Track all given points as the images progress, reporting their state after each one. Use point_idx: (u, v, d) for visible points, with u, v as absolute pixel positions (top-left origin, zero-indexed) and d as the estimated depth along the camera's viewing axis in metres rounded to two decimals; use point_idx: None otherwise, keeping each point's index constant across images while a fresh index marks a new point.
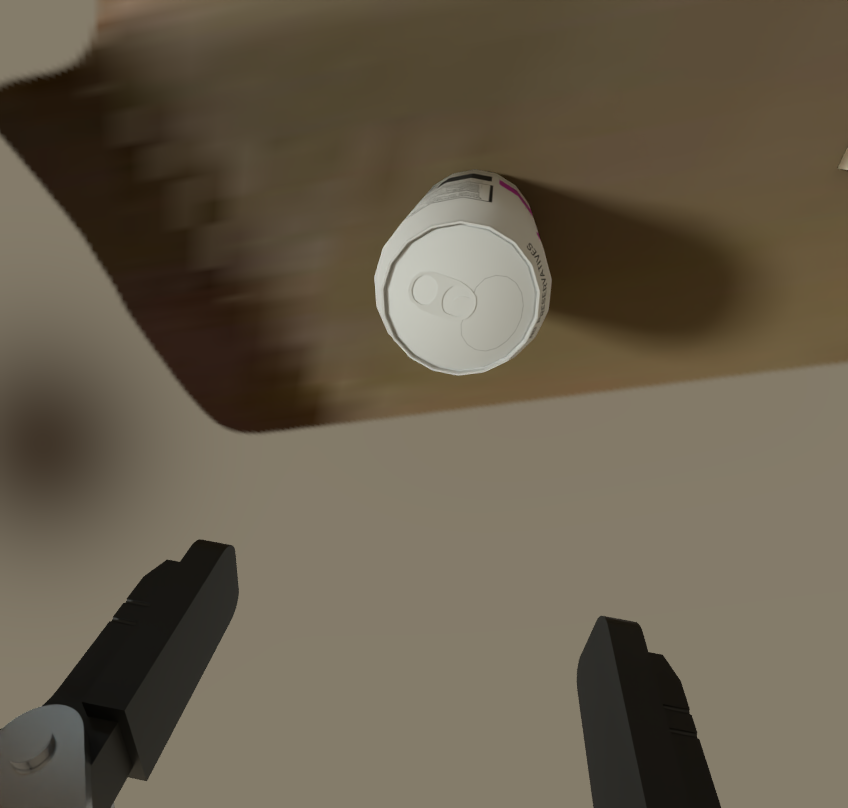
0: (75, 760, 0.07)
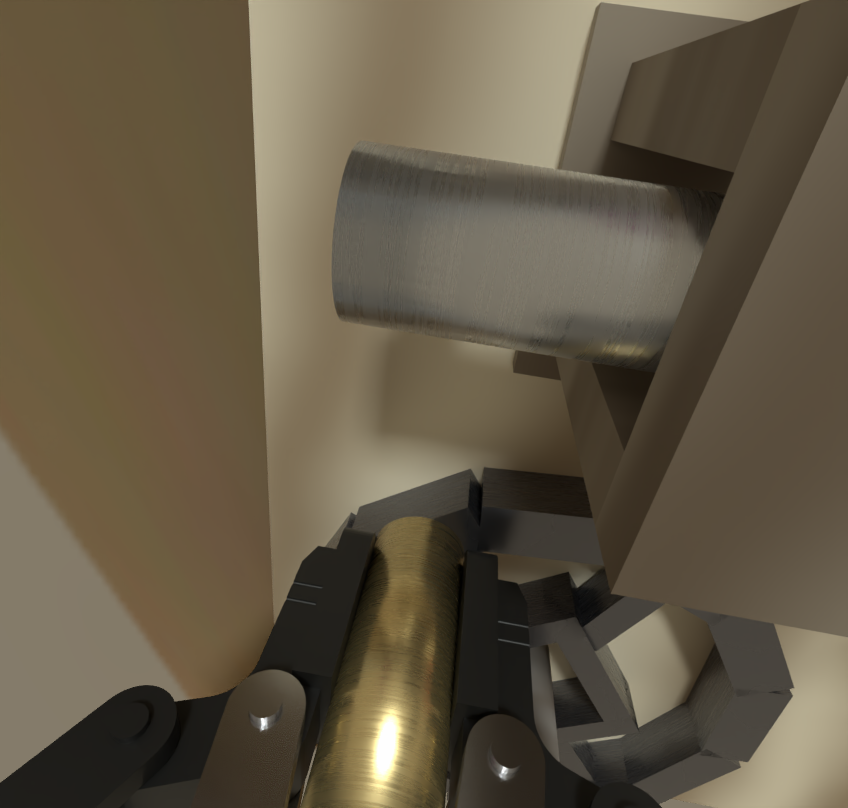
0: (291, 738, 0.08)
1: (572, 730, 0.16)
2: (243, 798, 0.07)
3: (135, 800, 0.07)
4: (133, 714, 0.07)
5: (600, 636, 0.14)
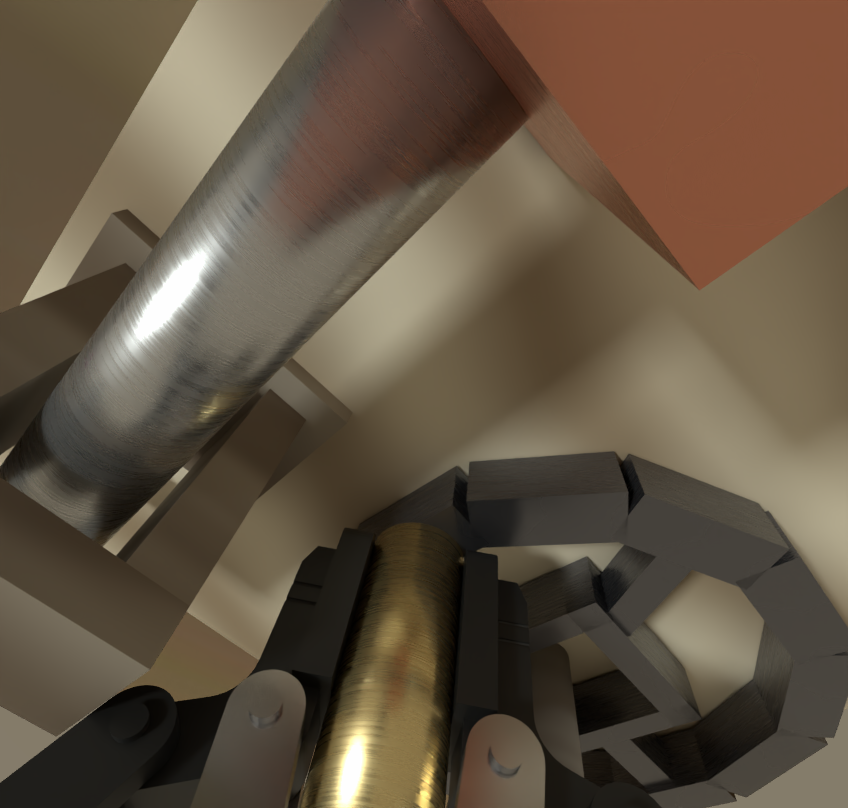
0: (291, 738, 0.08)
1: (628, 725, 0.15)
2: (243, 798, 0.07)
3: (135, 800, 0.07)
4: (133, 714, 0.07)
5: (629, 619, 0.13)
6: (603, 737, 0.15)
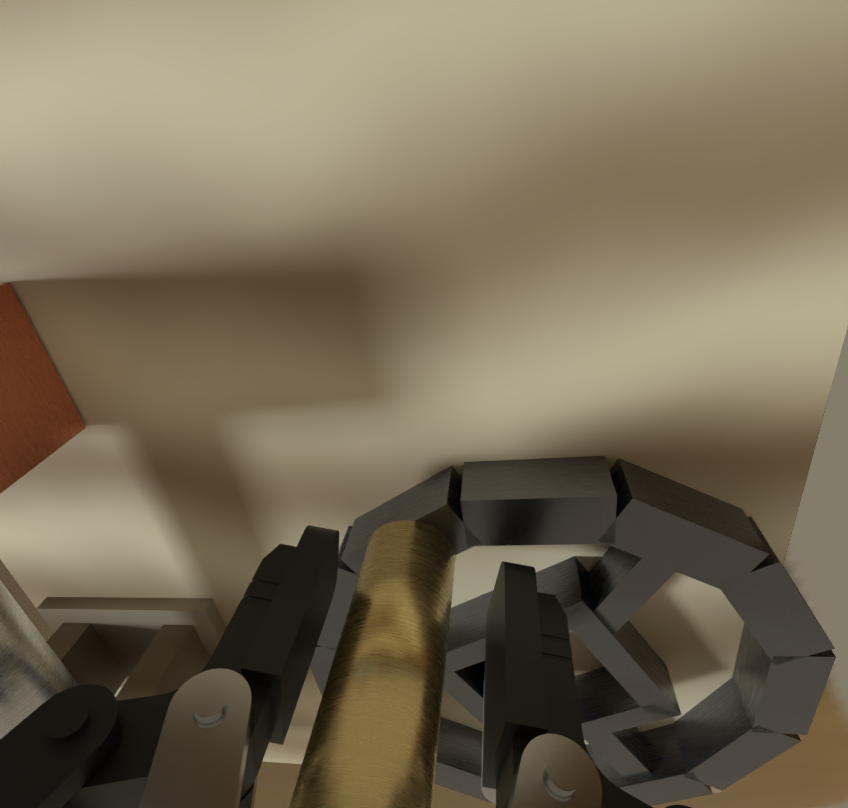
0: (239, 732, 0.08)
1: (611, 719, 0.15)
2: (192, 798, 0.07)
3: (80, 797, 0.07)
4: (71, 713, 0.07)
5: (614, 618, 0.13)
6: (586, 730, 0.15)
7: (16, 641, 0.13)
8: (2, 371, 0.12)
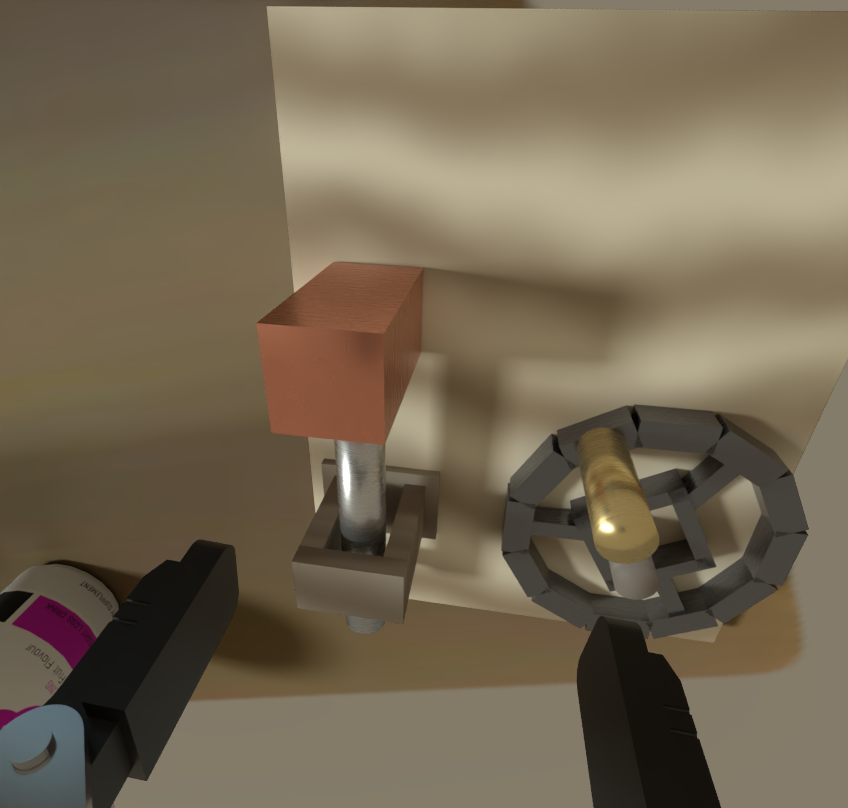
0: (75, 760, 0.07)
1: (675, 567, 0.26)
2: None
3: None
4: None
5: (697, 500, 0.24)
6: (657, 574, 0.27)
7: (385, 462, 0.23)
8: (417, 314, 0.22)
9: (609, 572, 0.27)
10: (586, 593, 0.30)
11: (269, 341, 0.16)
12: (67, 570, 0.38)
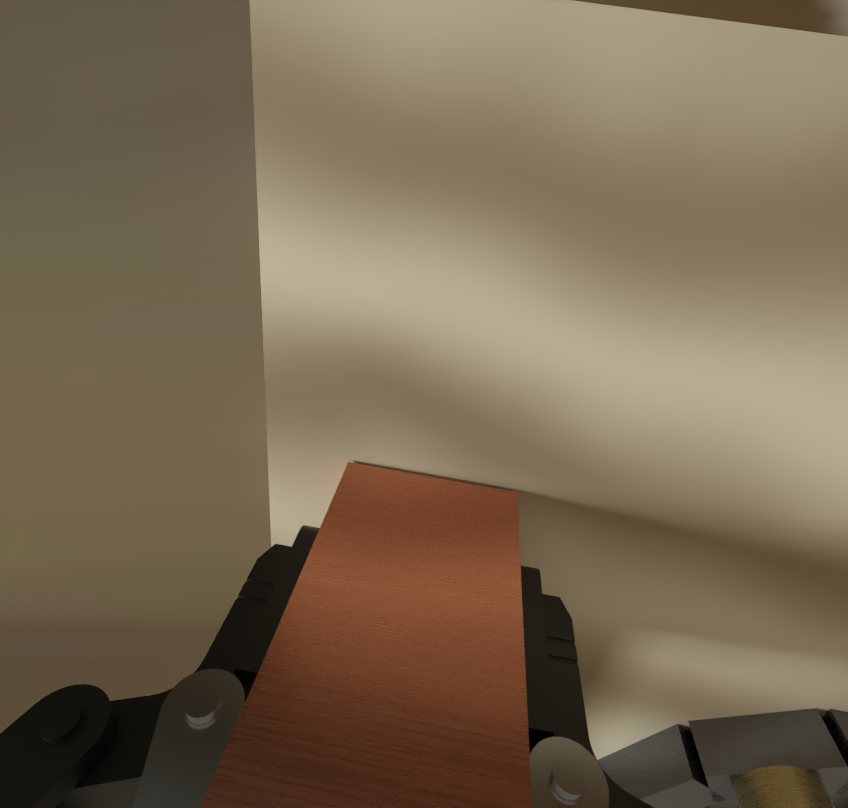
0: None
1: None
2: (186, 798, 0.07)
3: (74, 797, 0.07)
4: (63, 713, 0.07)
5: None
6: None
7: None
8: None
9: None
10: None
11: None
12: None
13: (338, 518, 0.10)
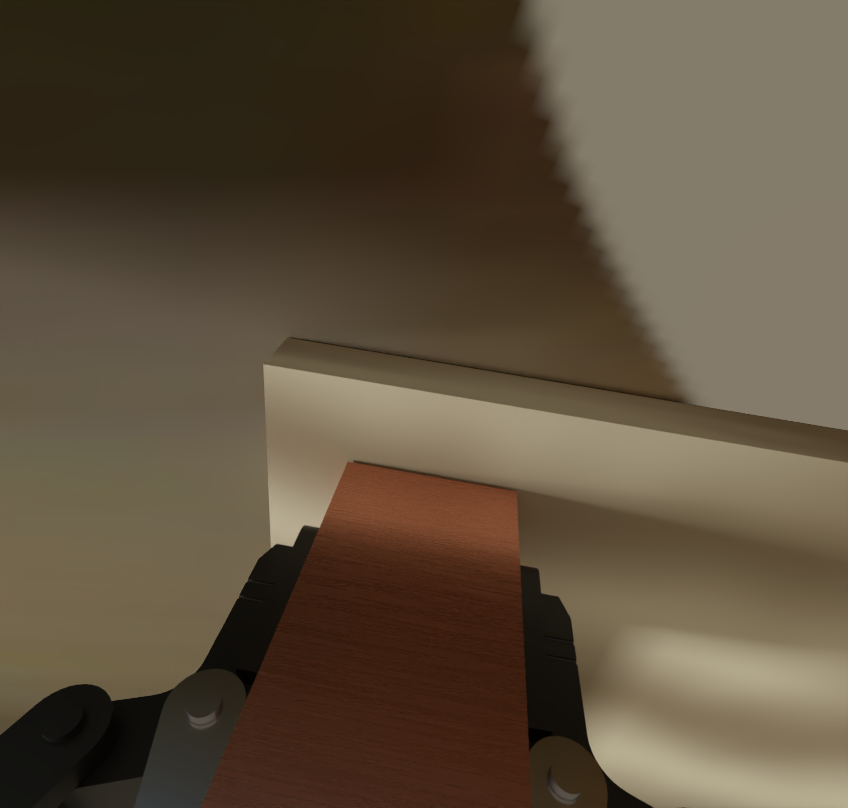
0: None
1: None
2: (187, 798, 0.07)
3: (75, 798, 0.07)
4: (65, 713, 0.07)
5: None
6: None
7: None
8: None
9: None
10: None
11: None
12: None
13: (338, 518, 0.10)
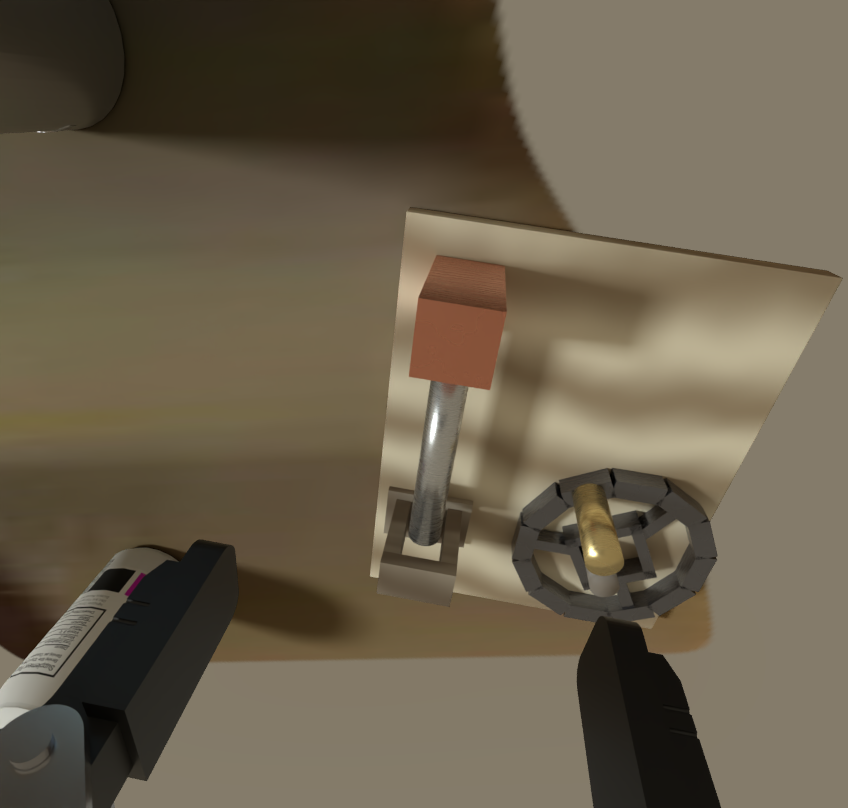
0: (75, 760, 0.07)
1: (629, 576, 0.38)
2: None
3: None
4: None
5: (648, 533, 0.36)
6: None
7: (463, 410, 0.30)
8: None
9: (585, 577, 0.39)
10: (566, 590, 0.42)
11: (424, 311, 0.23)
12: (157, 553, 0.47)
13: (437, 264, 0.28)
